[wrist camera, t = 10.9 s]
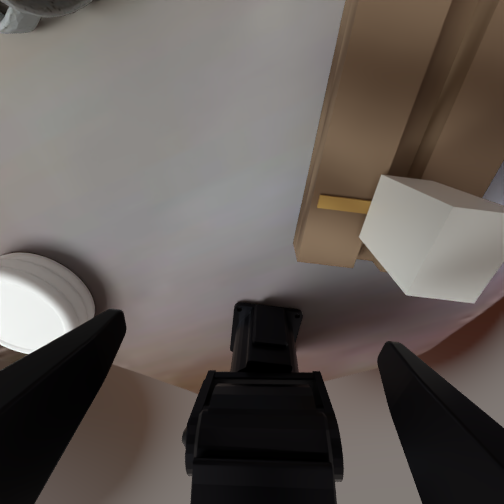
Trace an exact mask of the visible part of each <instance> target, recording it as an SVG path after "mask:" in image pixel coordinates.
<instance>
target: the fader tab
mask: <svg viewBox="0 0 504 504" xmlns="http://www.w3.org/2000/svg"><path fill="white" fill-rule="evenodd" d="M359 238H360V239H361V240H362V242H363V243H364V244H365V245H366V247H367V248H368V249H369V250H370V251H371V253H372V254H373V255H374V256H375V258H376V259H377V260H378V261H379V263H380V264H381V265H382V266H383V267H384V269H385V270H386V271H387V272H388V274H389V275H390V276H391V277H392V278H393V280H394V281H395V282H396V283H397V285H398V286H399V287H400V288H401V289H402V291H403V292H404V293H405V294H406V295H408V296H416V297H425V298H433V299H441V300H450V301H458V302H466V303H475V301H476V300H477V299H478V297H479V296H480V294H481V293H482V292H483V290H484V289H485V287H486V286H487V284H488V283H489V282H490V280H491V279H492V277H493V276H494V275H495V273H496V272H497V270H498V269H499V268H500V266H501V265H502V263H503V262H504V206H503V205H500V204H497V203H494V202H491V201H489V200H486V199H483V198H480V197H477V196H474V195H471V194H469V193H466V192H463V191H460V190H457V189H454V188H452V187H449V186H446V185H443V184H440V183H437V182H434V181H430V180H422V179H414V178H406V177H398V176H390V175H382V174H381V177H380V180H379V182H378V185H377V188H376V191H375V194H374V196H373V199H372V202H371V205H370V208H369V210H368V213H367V216H366V219H365V221H364V224H363V227H362V230H361V233H360V235H359Z"/></svg>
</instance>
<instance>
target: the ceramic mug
mask: <svg viewBox="0 0 504 504" xmlns="http://www.w3.org/2000/svg"><path fill="white" fill-rule="evenodd" d="M0 1H1V2H3V3H4V4H6V5H8V6H9V8H8V10H7V12H6V15H5V16H4V15H3V14H2V13H1V12H0V33H6V34H8V33H27V32H30V31H33V30H34V29H35V28H36V27H37V25H38V23H39V21H40V19H41V17H48V18H52V17H62V16H65V15H67V14H71V13H74V12H76V11H78V10H79V9H81V8H83V7H85V6H87V5H88V4H89V3H90V2H91V1H93V0H0Z"/></svg>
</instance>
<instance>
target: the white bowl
mask: <svg viewBox="0 0 504 504" xmlns="http://www.w3.org/2000/svg"><path fill="white" fill-rule="evenodd" d="M94 315H95V304H94V300H93V298H92V295H91V293H90V291H89V290H88V288H87V287H86V285H85V284H84V283H83V282H82V281H81V279H80V278H79V277H78V276H76V275H75V274H74V273H73V272H72V271H70V270H69V269H68V268H66V267H65V266H63V265H61V264H60V263H58V262H56V261H54V260H51V259H49V258H47V257H44V256H40V255H36V254H32V253H10V254H6V255H2V256H0V345H2V346H4V347H7V348H9V349H12V350H15V351H18V352H21V353H26V354H30V353H32V352H34V351H35V350H37V349H39V348H41V347H43V346H44V345H46V344H48V343H50V342H51V341H53V340H55V339H57V338H58V337H60V336H62V335H64V334H66V333H67V332H69V331H71V330H73V329H74V328H76V327H78V326H80V325H81V324H83V323H85V322H87V321H88V320H90V319H92V318H94Z"/></svg>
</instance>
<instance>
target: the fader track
mask: <svg viewBox="0 0 504 504" xmlns="http://www.w3.org/2000/svg"><path fill="white" fill-rule="evenodd" d="M503 161H504V0H346V1H345V6H344V10H343V15H342V19H341V24H340V29H339V33H338V38H337V43H336V47H335V52H334V56H333V61H332V66H331V70H330V75H329V79H328V84H327V89H326V93H325V98H324V103H323V107H322V112H321V116H320V121H319V126H318V130H317V135H316V140H315V144H314V149H313V153H312V158H311V163H310V167H309V172H308V176H307V181H306V186H305V190H304V195H303V200H302V204H301V209H300V213H299V218H298V223H297V227H296V232H295V236H294V241H293V245H294V249H295V253H296V257H297V262H306V263H314V264H322V265H330V266H339V267H347V268H353V267H354V264H355V261H356V259H360V260H369V261H373V262H374V264H375V265H376V266H377V268H378V269H379V270H380V272H387V271H386V270H385V269H384V267H383V266H382V265H381V264H380V263H379V261H378V260H377V259H376V258H375V256H374V255H373V254H372V253H371V251H370V250H369V249H368V248H367V247H366V245H365V244H364V243H363V242H362V240H361V239H360V238H359V235H360V233H361V230H362V227H363V224H364V221H365V219H366V216H367V213H368V210H369V208H370V205H371V202H372V199H373V196H374V194H375V191H376V188H377V185H378V182H379V180H380V177H381V174H382V175H390V176H398V177H406V178H414V179H422V180H430V181H434V182H437V183H440V184H443V185H446V186H449V187H452V188H454V189H457V190H460V191H463V192H466V193H469V194H471V195H474V196H477V197H480V198H482V197H483V195H484V193H485V192H486V190H487V188H488V187H489V185H490V183H491V181H492V180H493V178H494V176H495V174H496V173H497V171H498V169H499V167H500V166H501V164H502V162H503Z"/></svg>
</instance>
